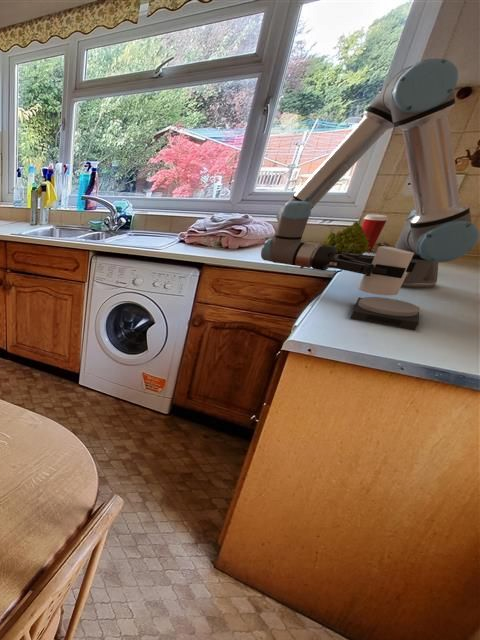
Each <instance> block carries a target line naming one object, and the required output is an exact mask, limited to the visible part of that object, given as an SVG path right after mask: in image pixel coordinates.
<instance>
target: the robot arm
mask: <svg viewBox="0 0 480 640" xmlns="http://www.w3.org/2000/svg"><path fill="white" fill-rule="evenodd" d="M458 80H459V71H458V68H457V66H456V65H455V64H454V63H453V62H452V61H451V60H448V59H445V58H429V59H424V60H421V61H418V62H416V63H414V64H412V65H410V66H407V67H406V68H404V69H402V70H400V71H398V72H397V73H396V74H395V75H393V76H392V78H390V79H389V81H388V82H387V83H386V84H385V86H384V87H383V88H382V90H381V91H380V92H379V93H378V95H376V97H375V98H374V100H373V101H372V102H371V103H370V104H369V105H368V106H367V107H366V109H365V110H364V111H363V117H362V119H360V121H359V122H358V123H357V124H356V125H355V126H354V128H353V129H352V130H350V132H349V133H348V134H347V135H346V136H345V137H344V139H342V141H341V142H340V143H339V144H338V145H337V146H336V147H335V148H334V150H333V151H332V152H331V153H330V154H329V155H328V156H327V157H326V158H325V160H324V161H323V162H322V163H321V164H320V165H319V167H317V168H316V170H315V171H314V172H313V173H312V174H311V175H310V176H309V178H307V179H306V181H305V182H304V183H303V184H302V185H300V187H299V189H297V191H295V192H294V194H293V195H292V196H291V198H289V200H288V201H286V202H285V203H283V205H282V206H280V208H279V209H278V211H277V213H276V221H277V223H278V224H277V227H276V232H275V235H274V237H269V238H268V239H267V240H266V241H264V242H263V243H264V244H263V246H262V248H261V251H260V258H261V259H262V260H263V261H265V262H271V263H274V264H280V265H281V264H282V265H289V266H295V267H299V268H300V269H302V270H303V269H304V268H307V269H311V268H312V269H313V270H318V271H327V270H328V269H336V270H342V271H346V272H351V273H356V274H361V275H364V274H366V276H370V275H371V272H372V274H377V275H383V276H389V277H395V278H402V276H403V274H404V272H405V270H406V268H401V267H394V266H387V265H381V264H376V265H375V266H374V265H373V264H372V261H373V259H374V257H375V255H371V254H370V255H369V254H362V255H361V254H353V253H342V254H337V253H336V251H337V248H336V247H335V246H328V245H322V244H321V243H314V242H313V243H312V242H304V241H302V238H303V234H304V232H305V229H306V228H307V227H306V226H307V225H308V221H309V218H310V216H311V214H312V213H311V211H312V209H313V208H314V207H315V206H316V205H317V204H318V203H319V202H320V201H321V200H322V199H323V198H324V197H325V196H326V195H327V194H328V193H329V191H330V190H331V189H332V188H333V187H334V186H335V185H337V183H338V182H339V181H340V180H342V178H343V177H344V176H345V175H346V174H347V172H349V170H350V169H352V167H353V166H354V165H355V164H357V162H358V161H360V159H361V158H362V157H363V156H364V155H365V154H366V153H367V152H368V151H369V150H370V149H371V148H372V147H373V145H374V144H375V143H377V141H378V140H379V139H380V138H381V137H382V136H383V135H384V134H385V133H386V132H387V131H388V130H390V129H395V130H398V131H401V132H402V137H403V144H404V149H405V154H406V161H407V162H406V163H407V166H408V173H409V174H408V175H409V180H410V185H411V193H412V197H413V204H414V209H413V210H411V212H409V213H410V214H409V215H408V217H406V219H405V223H404V226H403V228H402V229H401V232H400V235H399V236H398V239H397V241H396V243H395V245H394V247H393V246H392V245H390V244H389V243H388V242H386V241H383V242H384V244H383V245H385V246H388V247H393V248H397V249H401V250H405V251H409V252H413V253H414V255H413V257H412V259H411V261H410V263H409V265H408V267H407V270H406V272H407V275H406V277H405V279H404V281H403V283H402V285H401V288H405V289H418V290H419V289H420V290H421V289H423V290H424V289H433V288H434V287H435V286H436V284H437V282H438V274H439V264H440V263H447V262H452V261H455V260H457V259H460V258H462V257H464V256H465V255H467V254H468V253H469V252H471V251H472V250H473V249H474V248H475V246H476V245H477V243H478V241H479V239H480V232H479V229H478V227H477V226H476V225H475V223H473V222H472V216H471V209H470V204H468V203H464V202H462V201H461V200H460V192H459V184H458V178H457V170H456V162H455V156H454V148H453V142H452V134H451V133H452V132H451V125H450V120H449V114H450V112H451V110H452V109H453V108H454V107H455V105H456V95H455V88H456V86H457V84H458ZM385 242H386V243H385ZM320 244H321V245H320ZM380 245H382V244H381V243H380V242H379V243H377V246H380Z"/></svg>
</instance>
